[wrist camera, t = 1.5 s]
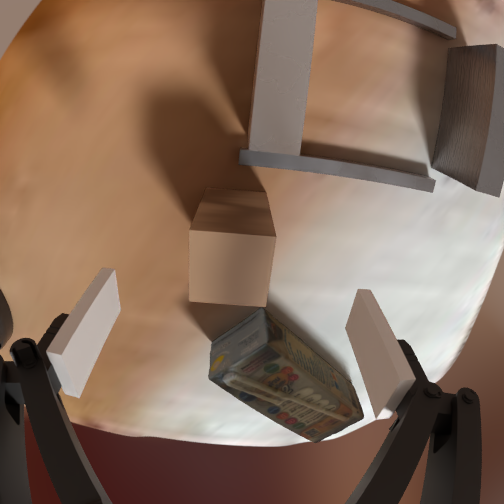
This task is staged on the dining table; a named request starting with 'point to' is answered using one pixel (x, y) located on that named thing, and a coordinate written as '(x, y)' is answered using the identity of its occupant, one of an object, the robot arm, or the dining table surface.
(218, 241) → the block
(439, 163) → the vise body
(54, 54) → the dining table surface
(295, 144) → the block
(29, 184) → the dining table surface
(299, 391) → the beverage carton
